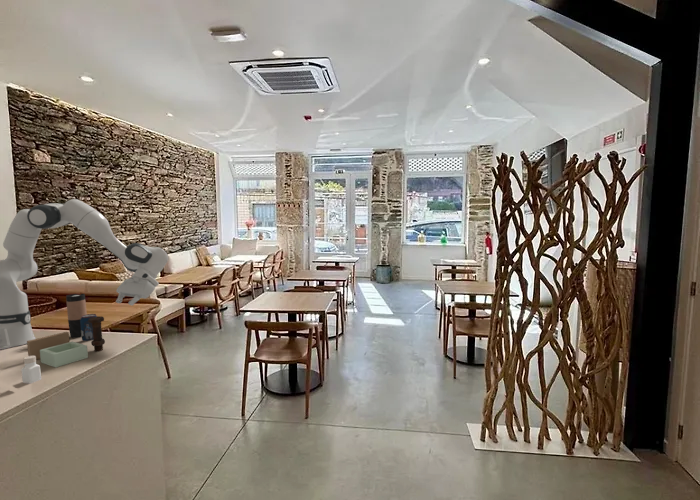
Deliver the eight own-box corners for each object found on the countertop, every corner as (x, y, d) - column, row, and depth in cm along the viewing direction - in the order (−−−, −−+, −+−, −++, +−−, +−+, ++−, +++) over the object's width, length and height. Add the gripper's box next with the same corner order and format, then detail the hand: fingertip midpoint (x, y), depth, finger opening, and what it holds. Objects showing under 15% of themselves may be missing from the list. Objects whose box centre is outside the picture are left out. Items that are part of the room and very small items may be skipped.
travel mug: (74, 338, 191) (70, 297, 189) (66, 336, 195) (62, 295, 193) (91, 334, 197) (88, 294, 195) (83, 332, 201) (80, 292, 199)
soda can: (95, 337, 192) (93, 312, 191) (102, 339, 188) (100, 314, 187) (79, 341, 187) (77, 316, 185) (85, 344, 183) (83, 318, 181)
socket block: (88, 357, 161) (87, 345, 161) (55, 367, 151) (54, 354, 151) (73, 353, 167) (72, 341, 167) (40, 362, 157) (39, 349, 157)
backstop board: (93, 359, 162) (91, 337, 161) (53, 372, 150) (51, 348, 149) (66, 351, 172) (64, 331, 172) (27, 362, 160) (25, 340, 159)
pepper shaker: (34, 380, 142) (31, 354, 141) (42, 382, 141) (39, 355, 140) (22, 385, 138) (19, 358, 137) (30, 386, 137) (27, 359, 136)
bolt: (98, 355, 167) (95, 319, 165) (88, 354, 168) (85, 319, 166) (109, 350, 172) (106, 316, 171) (99, 350, 174) (96, 315, 172)
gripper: (124, 273, 189) (105, 297, 182) (151, 275, 179) (132, 301, 172) (134, 281, 194) (115, 305, 186) (161, 283, 183) (142, 309, 176)
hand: (123, 303), depth 179 cm, fingers open, 8 cm apart
